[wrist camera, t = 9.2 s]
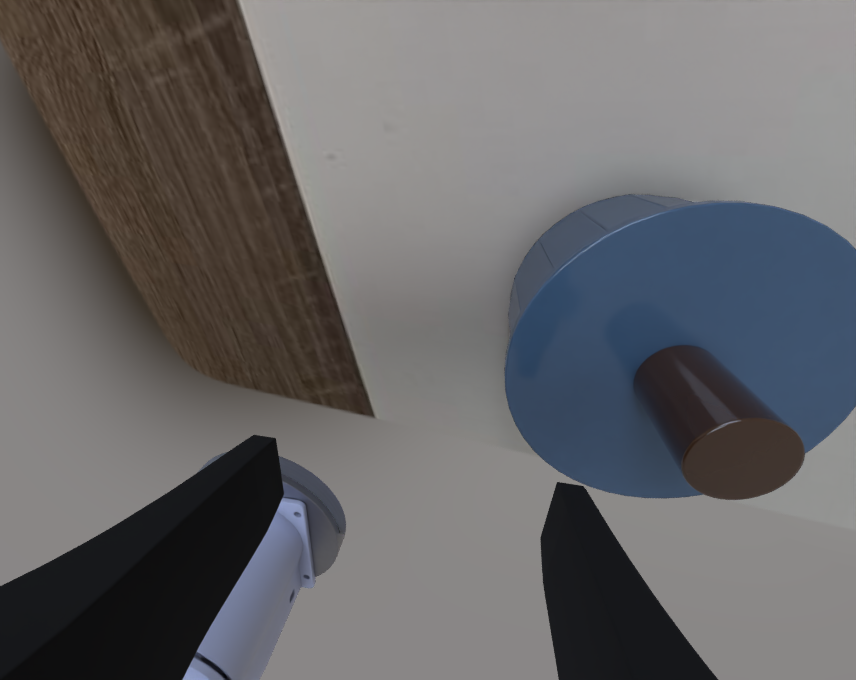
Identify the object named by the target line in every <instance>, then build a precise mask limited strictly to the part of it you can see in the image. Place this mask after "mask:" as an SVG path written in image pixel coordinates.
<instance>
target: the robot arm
mask: <svg viewBox="0 0 856 680" xmlns="http://www.w3.org/2000/svg"><path fill="white" fill-rule="evenodd" d="M283 496H284V489H283V482H282V476H281V469H280V463H279V456H278V450H277V443H276V439H275V438H271V437H264V436H257V435H253V436H251V437H250V438H249V439H247V440H245V441H244V442H242V443H241V444H239V445H238V446H236V447H235V448H233V449H232V450H230V451H229V452H227V453H226V454H225V455H223V456H222V457H220V458H219V459H217V460H216V461H214V462H213V463H211V464H210V465H208V466H207V467H206V468H204V469H203V470H201V471H200V472H198V473H197V474H195V475H194V476H192V477H191V478H189V479H188V480H186V481H185V482H183V483H182V484H180V485H179V486H177V487H176V488H174V489H173V490H171V491H170V492H168V493H167V494H165V495H163V496H162V497H160V498H159V499H157V500H155V501H154V502H152V503H151V504H149V505H147V506H146V507H144V508H143V509H141V510H139V511H138V512H136V513H134V514H133V515H131V516H130V517H128V518H127V519H125V520H123V521H122V522H120V523H118V524H117V525H115V526H113V527H112V528H110V529H108V530H106V531H105V532H103V533H101V534H100V535H98V536H96V537H94V538H93V539H91V540H89V541H87V542H85V543H84V544H82V545H80V546H78V547H77V548H74V549H73V550H71V551H69V552H67V553H65V554H63V555H61V556H60V557H58V558H56V559H54V560H52V561H50V562H49V563H46V564H44V565H43V566H41V567H39V568H37V569H35V570H32V571H30V572H28V573H26V574H24V575H22V576H20V577H18V578H16V579H14V580H12V581H10V582H9V583H6V584H4V585H2V586H0V680H259V679H260V677H261V676H262V674H263V672H264V670H265V668H266V666H267V664H268V661H269V659H270V657H271V655H272V652H273V650H274V648H275V645H276V643H277V641H278V638H279V636H280V634H281V632H282V629H283V627H284V625H285V622H286V620H287V618H288V616H289V613H290V611H291V609H292V606H293V604H294V602H295V599H296V597H297V595H298V592H299V590H300V588H301V587H305V588H313V587H314V585H315V582H316V581H315V573H314V565H313V557H312V549H311V541H310V534H309V526H308V518H307V510H306V505H305V504H304V502H302V501H299V500H294V499H288V498H283ZM541 557H542V573H543V584H544V591H545V598H546V604H547V610H548V616H549V623H550V629H551V635H552V641H553V647H554V653H555V658H556V665H557V671H558V677H559V680H718V679H717V678H716V676H715V675H714V674H713V673H712V671H711V670H710V669H709V668H708V666H707V665H706V664H705V663H704V661H703V660H702V659H701V658H700V656H699V655H698V654H697V652H696V651H695V650H694V649H693V647H692V646H691V645H690V643H689V642H688V641H687V639H686V638H685V637H684V635H683V634H682V633H681V631H680V630H679V629H678V627H677V626H676V625H675V623H674V622H673V620H672V619H671V618H670V617H669V615H668V614H667V612H666V611H665V610H664V608H663V607H662V606H661V604H660V603H659V601H658V600H657V598H656V597H655V596H654V594H653V593H652V591H651V590H650V589H649V587H648V586H647V584H646V583H645V581H644V580H643V578H642V577H641V575H640V574H639V572H638V571H637V569H636V568H635V566H634V565H633V564H632V562H631V561H630V559H629V558H628V556H627V555H626V553H625V551H624V550H623V548H622V547H621V545H620V544H619V542H618V541H617V539H616V537H615V536H614V535H613V533H612V531H611V530H610V528H609V526H608V525H607V523H606V522H605V520H604V518H603V517H602V515H601V513H600V512H599V510H598V509H597V507H596V505H595V504H594V502H593V500H592V499H591V497H590V495H589V494H588V492H587V490H586V489H585V488H584V487H583V486H579V485H573V484H566V483H560V482H557V484H556V488H555V491H554V494H553V498H552V501H551V504H550V508H549V511H548V515H547V518H546V521H545V525H544V528H543V531H542V535H541Z"/></svg>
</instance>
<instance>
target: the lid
mask: <svg viewBox="0 0 856 680" xmlns="http://www.w3.org/2000/svg"><path fill="white" fill-rule="evenodd" d="M504 373H505V390H506V396H507V401H508V405H509V409H510V412H511V414H512V417H513V419H514V422H515V424H516V426H517V428H518V429H519V431H520V433H521V434H522V436H523V438H524V439H525V440H526V441H527V443H528V444H529V445H530V446H531V448H532V449H533V450H534V451H535V452H536V453H537V454H538V455H539V456H540V457H541V458H542V459H543V460H544V461H545V462H547V463H548V464H549V465H551V466H552V467H553V468H555V469H556V470H558V471H559V472H561V473H563V474H564V475H566V476H568V477H570V478H572V479H573V480H576V481H578V482H580V483H582V484H585V485H587V486H590V487H593V488H596V489H599V490H603V491H606V492H609V493H615V494H620V495H624V496H633V497H642V498H679V497H690V496H697V495H707V496H710V497H713V498H718V499H725V500H741V499H749V498H754V497H758V496H761V495H764V494H767V493H769V492H772V491H774V490H776V489H778V488H780V487H781V486H783V485H784V484H786V483H787V482H788V481H790V480H791V479H792V478H793V477H794V476H795V475H796V473H797V472H798V471H799V469H800V468H801V466H802V464H803V461H804V457H805V453H807V452H808V451H810V450H811V449H813V448H814V447H815V446H816V445H818V444H819V443H820V442H821V441H823V440H824V439H825V438H826V437H828V436H829V435H830V434H831V433H832V432H833V431H834V430H835V429H836V428H837V427H838V426H839V425H840V424H841V423H842V422H843V421H844V420H845V419H846V418H847V416H848V415H849V414H850V413H851V411H852V410H853V409H854V408H855V406H856V249H855V248H854V247H853V246H852V245H851V244H850V243H849V242H848V241H847V240H846V239H845V238H843V237H842V236H840V235H839V234H838V233H836V232H835V231H833V230H832V229H831V228H829V227H828V226H826V225H824V224H822V223H820V222H818V221H816V220H813V219H811V218H809V217H807V216H805V215H803V214H799V213H796V212H793V211H789V210H786V209H782V208H779V207H775V206H770V205H765V204H758V203H751V202H744V201H702V202H693V203H684V204H679V205H674V206H670V207H666V208H662V209H657V210H653V211H650V212H647V213H645V214H642V215H639V216H636V217H633V218H631V219H628V220H625V221H623V222H621V223H619V224H617V225H615V226H613V227H611V228H609V229H607V230H605V231H603V232H601V233H599V234H598V235H596V236H595V237H593V238H591V239H590V240H588V241H587V242H585V243H584V244H582V245H580V246H579V247H578V248H576V249H575V250H574V251H573V252H571V253H570V254H569V255H568V256H566V257H565V258H564V259H563V260H561V261H560V262H559V263H558V264H557V265H556V266H555V267H554V268H553V269H552V270H551V271H550V272H549V273H548V274H547V275H546V276H545V277H544V278H543V279H542V281H541V282H540V283H539V284H538V286H537V287H536V288H535V290H534V291H533V292H532V294H531V295H530V296H529V298H528V299H527V301H526V303H525V304H524V306H523V308H522V310H521V311H520V313H519V315H518V317H517V319H516V322H515V324H514V327H513V329H512V332H511V334H510V338H509V342H508V346H507V350H506V357H505V367H504Z"/></svg>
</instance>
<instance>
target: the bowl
mask: <svg viewBox="0 0 856 680" xmlns="http://www.w3.org/2000/svg"><path fill="white" fill-rule="evenodd" d="M684 203H693V202H692V201H688V200H684V199H680V198H676V197H662V196H655V195H636V194H629V195H623V196H616V197H612V198H608V199H604V200H600V201H597V202H595V203H592V204H589V205H587V206H584V207H582V208H580V209H578V210H576V211H575V212H573V213H571V214H569V215H567V216H566V217H564V218H563V219H562V220H560V221H559V222H557V223H556V224H555V225H553V226H552V227H551V228H550V229H549V230H548V231H546V232H545V233H544V234H543V235H542V236H541V237H540V238H539V240H538V241H537V242H536V243H535V244H534V245H533V247H532V248H531V249H530V251H529V252H528V254H527V255H526V256H525V258H524V260H523V262H522V264H521V265H520V267H519V269H518V272H517V274H516V276H515V278H514V283H513V287H512V291H511V297H510V307H509V313H508V318H509V328H510V334H511V332H512V329H513V327H514V324H515V322H516V319H517V317H518V315H519V313H520V311H521V310H522V308H523V306H524V304H525V303H526V301H527V299H528V298H529V296H530V295H531V294H532V292H533V291H534V290H535V288H536V287H537V286H538V284H539V283H540V282H541V281H542V279H543V278H544V277H545V276H546V275H547V274H548V273H549V272H550V271H551V270H552V269H553V268H554V267H555V266H556V265H557V264H558V263H559V262H560V261H561V260H563V259H564V258H565V257H566V256H568V255H569V254H570V253H571V252H573V251H574V250H575V249H576V248H578V247H579V246H580V245H582V244H584V243H585V242H587V241H588V240H590V239H591V238H593V237H595V236H596V235H598V234H599V233H601V232H603V231H605V230H607V229H609V228H611V227H613V226H615V225H617V224H619V223H621V222H623V221H625V220H628V219H631V218H633V217H636V216H639V215H642V214H645V213H647V212H650V211H653V210H657V209H662V208H666V207H670V206H674V205H679V204H684Z"/></svg>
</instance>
